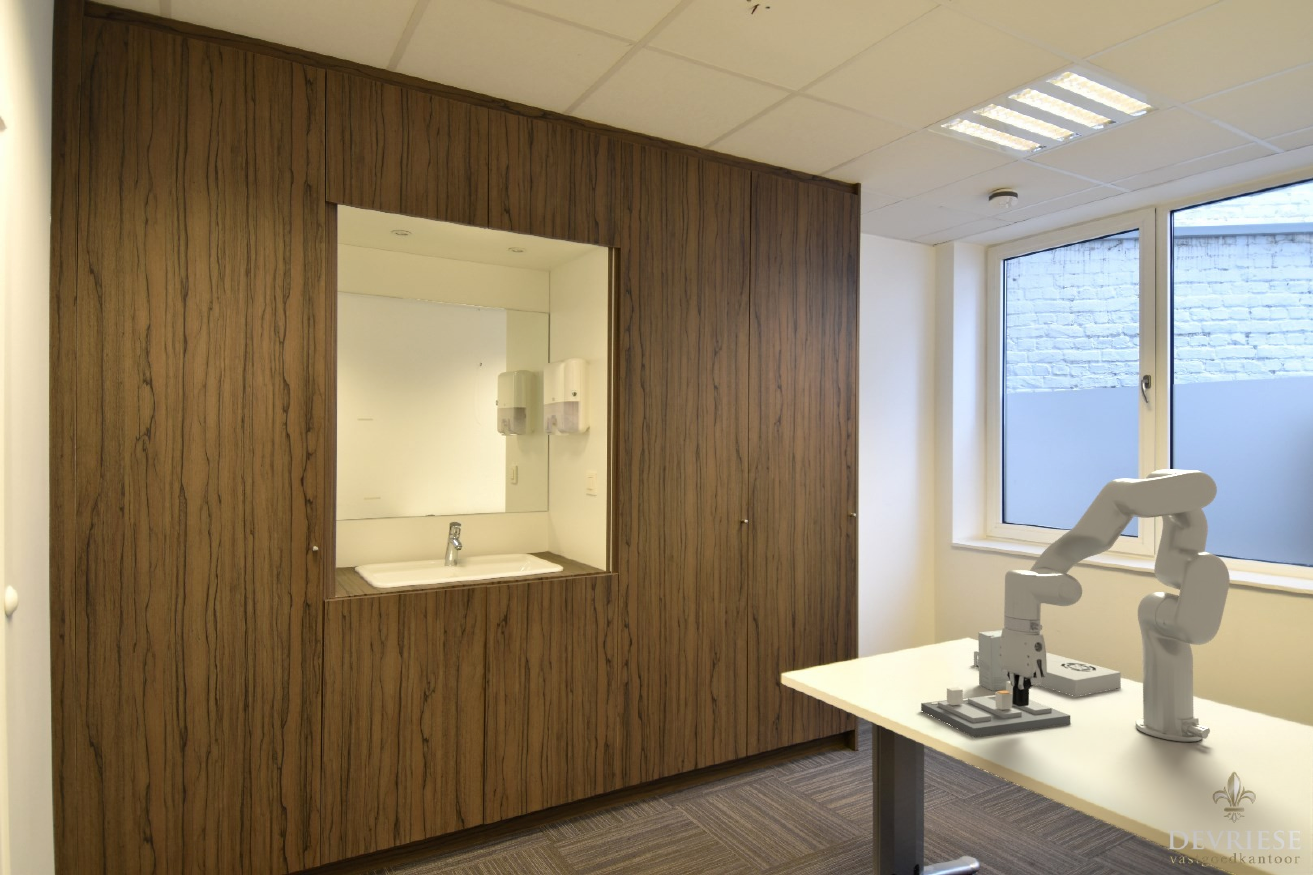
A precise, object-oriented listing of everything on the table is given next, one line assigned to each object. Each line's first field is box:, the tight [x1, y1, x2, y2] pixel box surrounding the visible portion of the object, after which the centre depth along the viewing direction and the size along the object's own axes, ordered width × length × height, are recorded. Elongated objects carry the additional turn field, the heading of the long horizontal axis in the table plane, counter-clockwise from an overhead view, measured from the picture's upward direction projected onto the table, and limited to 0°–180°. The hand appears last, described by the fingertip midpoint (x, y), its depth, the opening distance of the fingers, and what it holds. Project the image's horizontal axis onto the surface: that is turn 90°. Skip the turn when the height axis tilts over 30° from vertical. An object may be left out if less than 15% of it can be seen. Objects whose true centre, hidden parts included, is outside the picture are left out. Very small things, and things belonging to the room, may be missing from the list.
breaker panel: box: [920, 694, 1071, 738], centre depth 180 cm, size 18×28×3 cm, turn 109°
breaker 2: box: [1005, 681, 1013, 698], centre depth 186 cm, size 2×3×4 cm, turn 109°
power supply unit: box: [973, 651, 1122, 698], centre depth 215 cm, size 19×33×5 cm, turn 25°
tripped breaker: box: [994, 690, 1012, 710], centre depth 177 cm, size 2×3×4 cm, turn 109°
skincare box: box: [977, 629, 1010, 692], centre depth 204 cm, size 8×6×15 cm
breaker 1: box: [946, 686, 964, 705], centre depth 180 cm, size 2×3×4 cm, turn 109°
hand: (1020, 704), depth 172 cm, fingers closed
